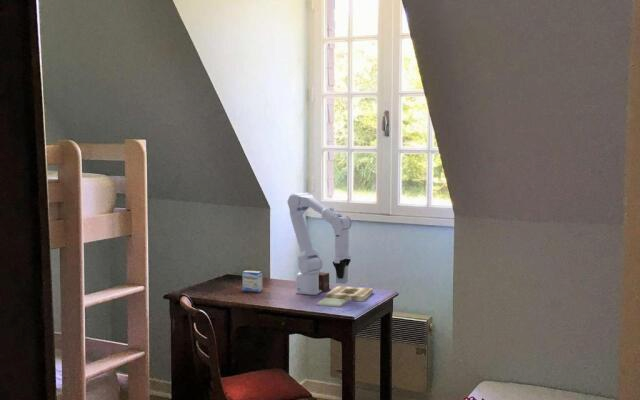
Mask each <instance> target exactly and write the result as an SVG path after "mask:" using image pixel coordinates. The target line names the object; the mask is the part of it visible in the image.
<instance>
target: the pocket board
mask: <svg viewBox="0 0 640 400" xmlns="http://www.w3.org/2000/svg"><path fill="white" fill-rule="evenodd" d="M373 291H374V290H373V288H370V287H369V288H368V287H355V286H343V285H342V286H341V285H338V286H336V287H334V288H332V289H331V290H330V291H328V292H327V293H326V294H325V295H326V297H325V298H335V299H348V301H352V302H353V301H354V302H364V301H365V300H367V298H369V297H370V296H372V294H374V293H373Z"/></svg>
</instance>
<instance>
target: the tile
mask: <svg viewBox="0 0 640 400" xmlns="http://www.w3.org/2000/svg"><path fill="white" fill-rule="evenodd" d="M348 302H349V300H348V299H335V298H326V297H324V298H322V299H321V300H320V301H318V302H317V303H316V306H322V307H323V306H324V307H336V308H341V307H343V305H345V304H346V303H348Z"/></svg>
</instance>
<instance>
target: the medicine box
mask: <svg viewBox="0 0 640 400" xmlns="http://www.w3.org/2000/svg"><path fill="white" fill-rule="evenodd" d="M242 291H243V292H251V293H253V292H254V293H260V292H261V291H263V271H258V270H244V271H242Z"/></svg>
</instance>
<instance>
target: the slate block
mask: <svg viewBox="0 0 640 400" xmlns="http://www.w3.org/2000/svg"><path fill="white" fill-rule="evenodd" d="M348 270H349V265H345V268H344V275H343V278H342V279H341V278H338V277H337V273H336V272H335V283H336V284H343V285H344V284H345V285H346V284H347V283H348V281H349V271H348Z"/></svg>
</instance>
